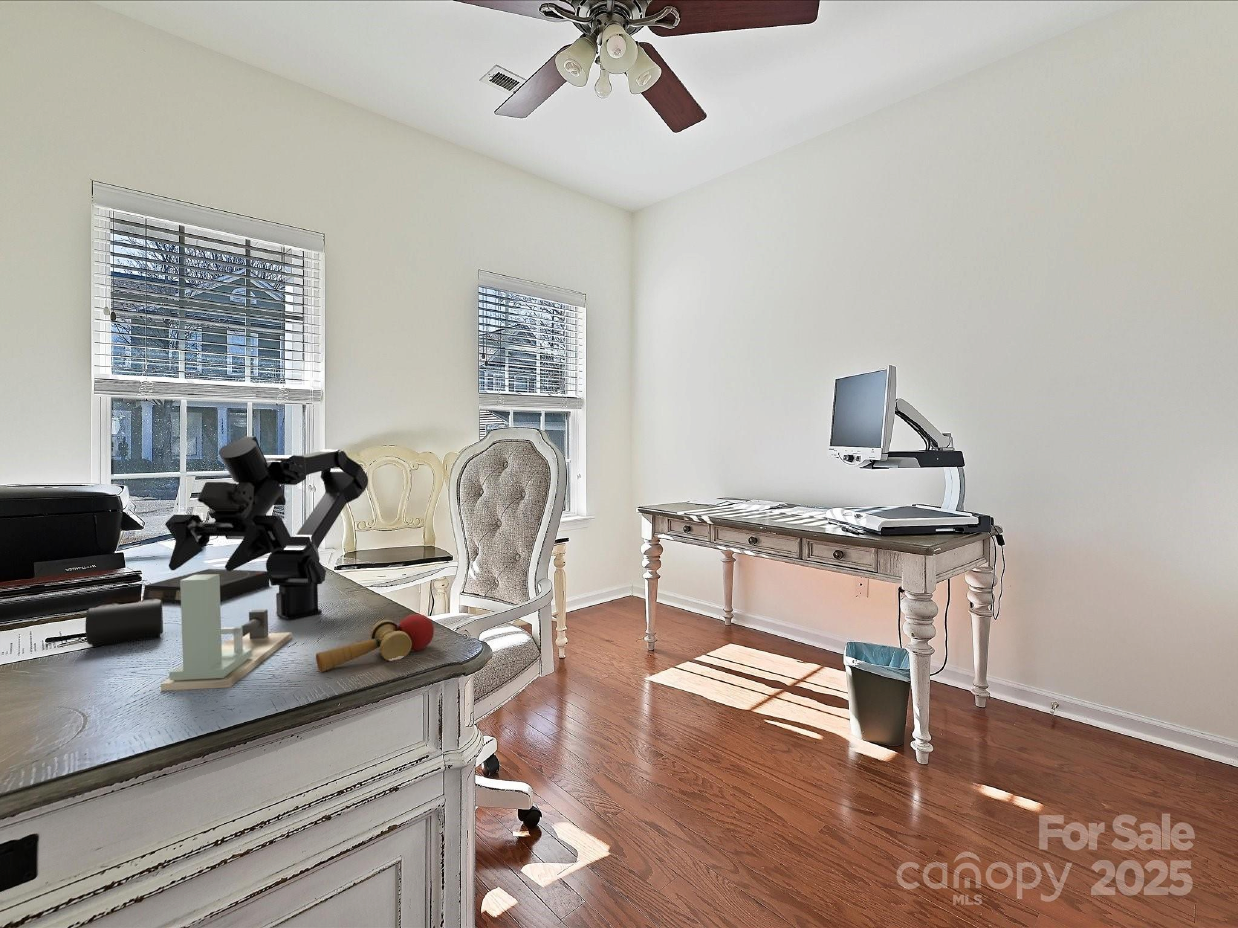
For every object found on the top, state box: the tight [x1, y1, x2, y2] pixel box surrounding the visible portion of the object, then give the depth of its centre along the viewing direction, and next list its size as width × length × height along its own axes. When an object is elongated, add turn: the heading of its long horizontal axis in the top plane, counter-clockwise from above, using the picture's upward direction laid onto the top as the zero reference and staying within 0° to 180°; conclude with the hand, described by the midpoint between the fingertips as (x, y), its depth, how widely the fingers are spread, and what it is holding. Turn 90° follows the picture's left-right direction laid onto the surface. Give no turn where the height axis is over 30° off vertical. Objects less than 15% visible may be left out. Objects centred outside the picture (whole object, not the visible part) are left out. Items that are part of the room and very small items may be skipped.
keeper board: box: [160, 609, 293, 692], centre depth 94 cm, size 21×9×6 cm, turn 7°
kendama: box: [315, 613, 435, 673], centre depth 96 cm, size 8×6×18 cm
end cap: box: [85, 598, 164, 648], centre depth 104 cm, size 10×7×7 cm
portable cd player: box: [142, 568, 270, 605], centre depth 135 cm, size 16×17×4 cm
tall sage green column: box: [168, 574, 252, 680], centre depth 88 cm, size 8×7×14 cm
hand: (198, 568), depth 93 cm, fingers open, 9 cm apart
